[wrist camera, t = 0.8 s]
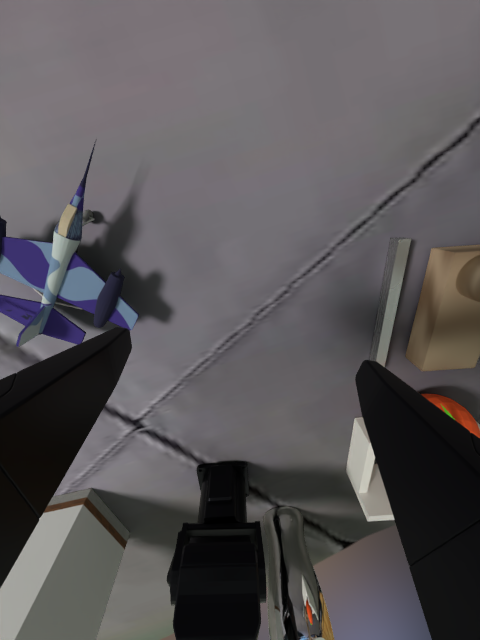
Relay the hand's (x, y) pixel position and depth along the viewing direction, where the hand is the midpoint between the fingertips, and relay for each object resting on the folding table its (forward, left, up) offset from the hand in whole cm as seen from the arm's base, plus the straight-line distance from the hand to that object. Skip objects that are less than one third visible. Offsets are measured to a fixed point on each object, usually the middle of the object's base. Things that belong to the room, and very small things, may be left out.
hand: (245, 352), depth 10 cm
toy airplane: (+2, +14, -14) cm, 20 cm away
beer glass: (-38, -4, -14) cm, 41 cm away
